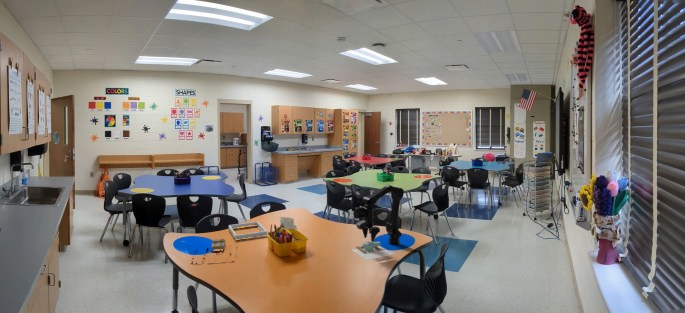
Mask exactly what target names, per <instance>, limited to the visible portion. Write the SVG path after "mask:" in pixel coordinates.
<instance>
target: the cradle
mask: <svg viewBox="0 0 685 313" xmlns="http://www.w3.org/2000/svg"><path fill="white" fill-rule="evenodd" d="M362 248H364V245H363V244H362V245H359V246H356V248H355V249H358V250H360V251H361V252H363V253H366V251H365V250H363V249H362ZM373 248H374V249H376V250H378V251H380V248H378V247H373Z"/></svg>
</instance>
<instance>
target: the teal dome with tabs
mask: <svg viewBox="0 0 685 313" xmlns="http://www.w3.org/2000/svg"><path fill="white" fill-rule="evenodd" d="M363 245H364V250H365V251H373V247H378V246H380V247H381V242H380V241H373V242H372V241H364V243H362V246H363Z"/></svg>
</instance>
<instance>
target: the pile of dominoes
mask: <svg viewBox="0 0 685 313" xmlns="http://www.w3.org/2000/svg"><path fill="white" fill-rule="evenodd" d="M224 246H225V247H226V238H215V239H213V240H212V244H211V248H210V249H224ZM224 250H225V249H224Z"/></svg>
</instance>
